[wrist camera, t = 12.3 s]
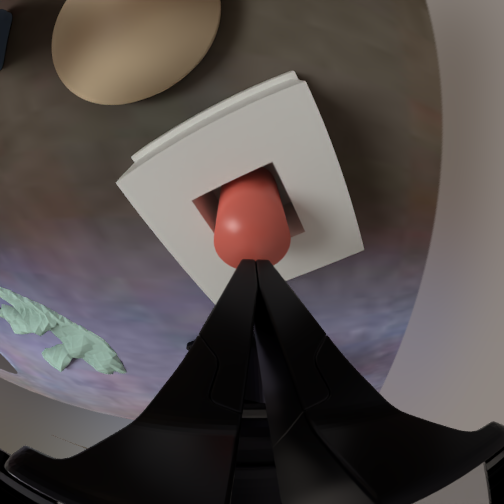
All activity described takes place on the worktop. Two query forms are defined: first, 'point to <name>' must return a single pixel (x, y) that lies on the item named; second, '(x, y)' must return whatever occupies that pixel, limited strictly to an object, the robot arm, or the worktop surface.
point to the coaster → (130, 45)
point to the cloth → (59, 334)
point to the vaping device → (4, 32)
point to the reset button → (251, 220)
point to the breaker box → (237, 164)
